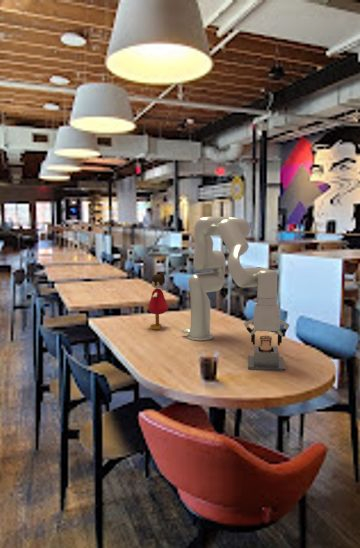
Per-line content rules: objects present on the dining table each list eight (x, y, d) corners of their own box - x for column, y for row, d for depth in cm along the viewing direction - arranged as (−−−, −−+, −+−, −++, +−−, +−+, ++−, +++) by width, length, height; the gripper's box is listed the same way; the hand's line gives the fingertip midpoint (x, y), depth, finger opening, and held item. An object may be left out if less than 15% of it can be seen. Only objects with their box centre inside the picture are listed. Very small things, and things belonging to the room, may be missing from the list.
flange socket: (247, 369, 162) (248, 354, 161) (247, 357, 175) (248, 343, 175) (285, 371, 159) (285, 355, 159) (282, 359, 173) (282, 345, 172)
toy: (150, 322, 237) (150, 269, 234) (170, 322, 237) (169, 269, 233) (145, 335, 211) (144, 275, 207) (167, 335, 211) (166, 275, 207)
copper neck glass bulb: (259, 363, 165) (260, 338, 164) (259, 359, 170) (259, 335, 169) (271, 363, 165) (272, 338, 163) (271, 360, 169) (271, 335, 168)
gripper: (244, 302, 162) (243, 346, 164) (290, 304, 159) (289, 348, 161) (244, 299, 169) (244, 340, 171) (289, 300, 167) (287, 342, 169)
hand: (266, 344), depth 166 cm, fingers open, 9 cm apart
